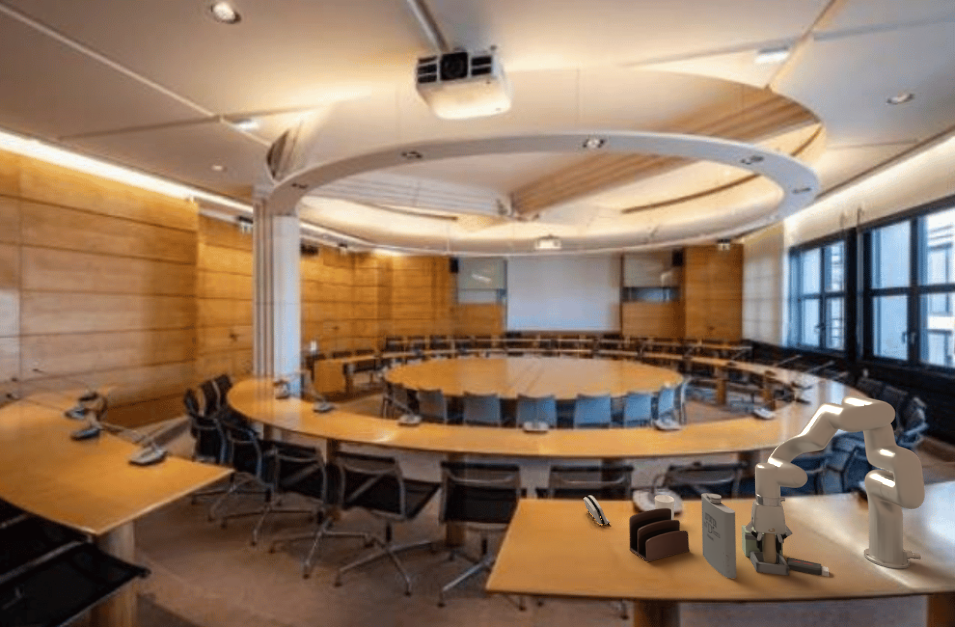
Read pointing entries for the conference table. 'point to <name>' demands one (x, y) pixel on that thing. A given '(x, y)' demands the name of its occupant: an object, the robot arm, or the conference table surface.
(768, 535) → the handle
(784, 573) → the green box on stand
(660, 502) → the white cup
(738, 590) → the conference table surface
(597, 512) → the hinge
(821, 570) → the usb drive
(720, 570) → the flask
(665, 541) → the letter holder
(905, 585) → the conference table surface
